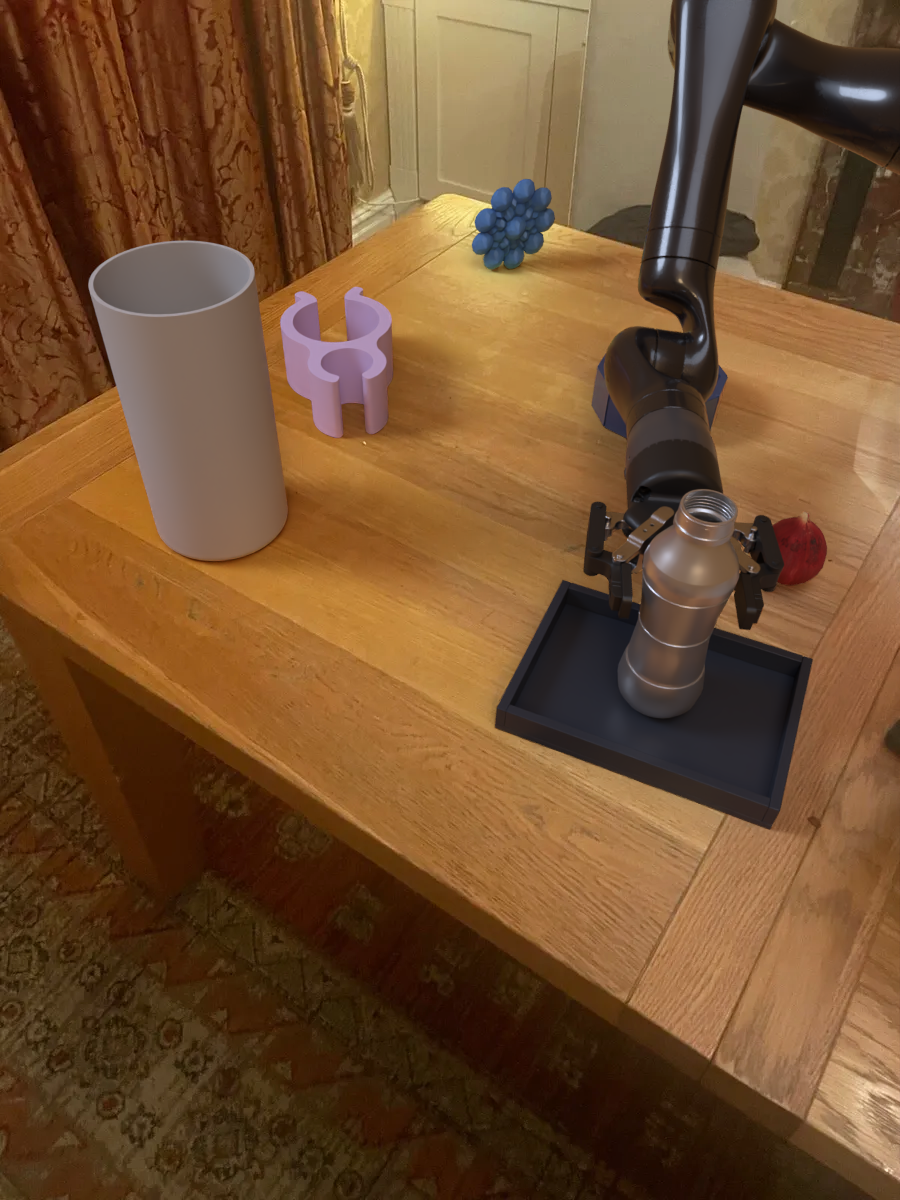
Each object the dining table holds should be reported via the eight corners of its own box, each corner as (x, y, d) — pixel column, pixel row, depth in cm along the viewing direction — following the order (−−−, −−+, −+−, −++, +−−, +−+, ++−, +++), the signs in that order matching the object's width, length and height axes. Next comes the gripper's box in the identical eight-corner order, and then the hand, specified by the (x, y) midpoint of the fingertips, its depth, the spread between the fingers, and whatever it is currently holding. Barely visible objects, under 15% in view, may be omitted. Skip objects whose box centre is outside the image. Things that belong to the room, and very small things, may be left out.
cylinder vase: (131, 544, 86) (53, 296, 68) (203, 469, 94) (151, 230, 76) (247, 580, 82) (197, 330, 65) (311, 499, 91) (283, 257, 73)
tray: (803, 678, 76) (813, 658, 74) (770, 830, 66) (780, 811, 64) (559, 599, 82) (562, 579, 80) (494, 728, 72) (496, 707, 70)
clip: (411, 429, 99) (411, 374, 94) (297, 442, 97) (291, 386, 92) (382, 337, 113) (380, 284, 108) (281, 346, 111) (275, 293, 106)
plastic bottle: (688, 739, 70) (756, 550, 56) (603, 714, 72) (648, 523, 58) (702, 679, 75) (768, 489, 60) (622, 656, 76) (667, 465, 62)
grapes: (539, 250, 131) (547, 163, 122) (555, 271, 126) (565, 183, 118) (461, 259, 128) (464, 171, 120) (476, 280, 124) (480, 191, 115)
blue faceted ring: (726, 393, 106) (737, 354, 102) (698, 459, 97) (709, 420, 93) (614, 365, 109) (621, 327, 106) (577, 427, 100) (583, 388, 97)
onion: (824, 596, 83) (854, 530, 77) (769, 609, 81) (795, 542, 76) (790, 554, 86) (816, 489, 81) (736, 565, 85) (759, 499, 79)
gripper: (591, 429, 72) (592, 569, 61) (772, 443, 72) (806, 587, 60) (579, 502, 78) (578, 642, 67) (747, 516, 77) (775, 660, 66)
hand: (687, 616), depth 63 cm, fingers open, 8 cm apart
